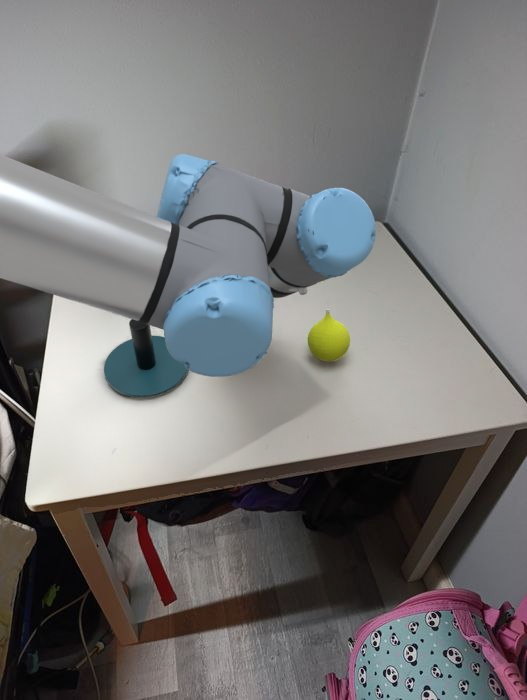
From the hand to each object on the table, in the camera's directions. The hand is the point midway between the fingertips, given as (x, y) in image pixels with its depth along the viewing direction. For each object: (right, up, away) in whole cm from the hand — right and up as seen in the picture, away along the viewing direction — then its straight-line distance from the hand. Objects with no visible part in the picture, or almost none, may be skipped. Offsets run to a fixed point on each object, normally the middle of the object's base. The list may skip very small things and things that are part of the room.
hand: (236, 291), depth 80 cm
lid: (-15, -12, +3) cm, 19 cm away
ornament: (+15, -10, +7) cm, 20 cm away
